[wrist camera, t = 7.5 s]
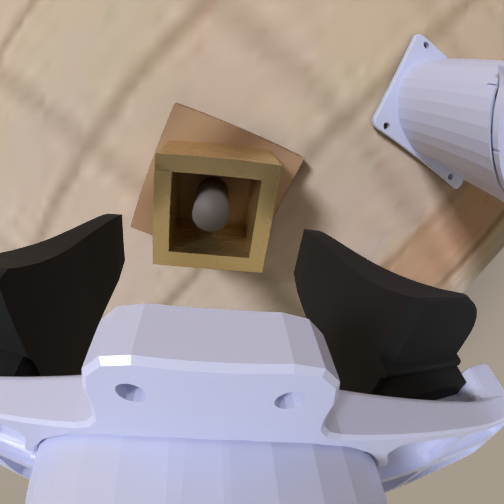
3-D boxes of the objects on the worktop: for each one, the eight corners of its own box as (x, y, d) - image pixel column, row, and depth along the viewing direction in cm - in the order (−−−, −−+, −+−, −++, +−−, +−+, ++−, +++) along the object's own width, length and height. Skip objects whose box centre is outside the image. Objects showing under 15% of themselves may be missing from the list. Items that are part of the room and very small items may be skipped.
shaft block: (299, 155, 18) (322, 174, 14) (245, 260, 21) (250, 301, 17) (177, 103, 16) (162, 105, 12) (134, 220, 19) (114, 254, 15)
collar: (269, 149, 17) (282, 165, 13) (254, 237, 19) (262, 272, 16) (169, 140, 16) (155, 153, 12) (165, 230, 18) (153, 264, 15)
